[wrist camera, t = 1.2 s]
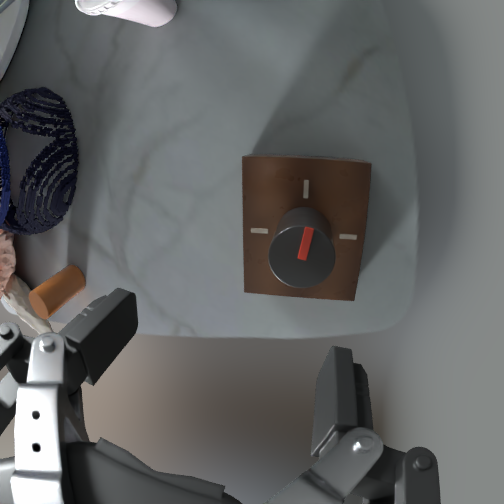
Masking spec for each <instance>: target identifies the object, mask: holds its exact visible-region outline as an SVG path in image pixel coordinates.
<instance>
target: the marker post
mask: <svg viewBox="0 0 504 504" xmlns="http://www.w3.org/2000/svg"><path fill="white" fill-rule="evenodd" d="M85 284H86V283H85V278H84V275H83V273H82V272H81V270H80V269H79V268H78V267H76V266H75V265H68V266H67V267H65V268H64V269H62V270H61V271H59V272H58V273H56V274H55V275H53V276H52V277H51V278H49V279H48V280H46V281H45V282H43V283H42V284H41V285H39V286H38V287H36V288H35V289H34V290H32V291H31V292H30V293H29V300H30V303H31V306H32V308H33V309H34V311H35V312H36V313H37V315H38V316H39V317H41V318H42V319H45V320H46V319H48V318H49V317H50V316H51V315H53V314H54V313H55V312H56V311H57V310H59V309H60V308H61V307H62V306H63V305H65V304H66V303H67V302H68V301H69V300H71V299H72V298H73V297H74V296H76V295H77V294H78V293H79V292H81V291H82V290H83V289H84V288H85Z"/></svg>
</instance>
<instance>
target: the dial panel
mask: <svg viewBox="0 0 504 504" xmlns="http://www.w3.org/2000/svg"><path fill="white" fill-rule="evenodd" d="M370 179H371V163H369V162H367V161H364V160H356V159H345V158H333V157H318V156H300V155H271V154H249V155H246V156H243V157H242V189H243V252H244V292H246V293H257V294H267V295H279V296H291V297H303V298H316V299H331V300H346V301H354V299H355V294H356V288H357V283H358V277H359V271H360V265H361V259H362V252H363V245H364V237H365V230H366V221H367V212H368V202H369V191H370ZM298 207H309V208H313V209H315V210H317V211H319V212H320V213H322V214H323V215H324V216H325V217H326V219H327V220H328V222H329V224H330V227H331V232H332V237H333V242H334V248H335V253H336V260H335V265H334V268H333V270H332V272H331V274H330V275H329V276H328V277H327V278H326V279H325V280H324V281H323V282H321V283H320V284H318V285H315V286H312V287H308V288H297V287H292V286H289V285H287V284H285V283H283V282H282V281H280V280H279V279H278V278H277V277H276V276H275V274H274V273H273V272H272V270H271V268H270V265H269V261H268V251H269V247H270V244H271V242H272V239H273V236H274V234H275V231H276V228H277V226H278V223H279V221H280V219H281V218H282V217H283V215H284V214H286V213H287V212H288V211H290V210H292V209H294V208H298Z"/></svg>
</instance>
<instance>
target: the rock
mask: <svg viewBox="0 0 504 504" xmlns="http://www.w3.org/2000/svg"><path fill="white" fill-rule="evenodd" d="M5 221H6V220H5ZM6 222H7V221H6ZM7 223H8V222H7ZM8 225H9V224H8ZM13 240H14V234H13V233H9V232H8V231H4V230H2V229H0V299H1V297H2V296H3V294H4V291H5V288H6V284H7V282H8V281H9V277H10V275H11V274H12V273H13V272H15V264H16V257H15V250H14V247H13Z"/></svg>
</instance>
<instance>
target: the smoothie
mask: <svg viewBox="0 0 504 504" xmlns="http://www.w3.org/2000/svg"><path fill="white" fill-rule="evenodd" d="M75 4H76V7H77V9H78V10H80V11H81V12H84V13H86V14H88V15H99V14H104V15H109V16H114V17H118V18H122V19H126V20H130V21H134V22H138V23H141V24H145V25H148V26H151V27H159V26H162V25H165V24H166V23H168V22H169V21H170V20H171V19H172V18H173V17H174V15H175V14H176V11H177V4H176V2H175V1H174V0H75Z"/></svg>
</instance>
